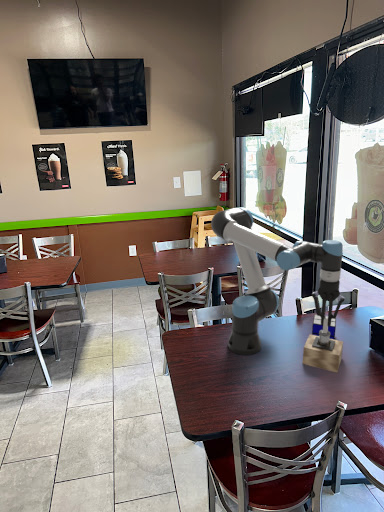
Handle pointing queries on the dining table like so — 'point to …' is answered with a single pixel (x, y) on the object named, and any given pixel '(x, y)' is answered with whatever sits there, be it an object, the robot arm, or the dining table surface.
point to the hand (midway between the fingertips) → (325, 331)
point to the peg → (324, 338)
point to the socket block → (322, 354)
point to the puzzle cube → (318, 327)
